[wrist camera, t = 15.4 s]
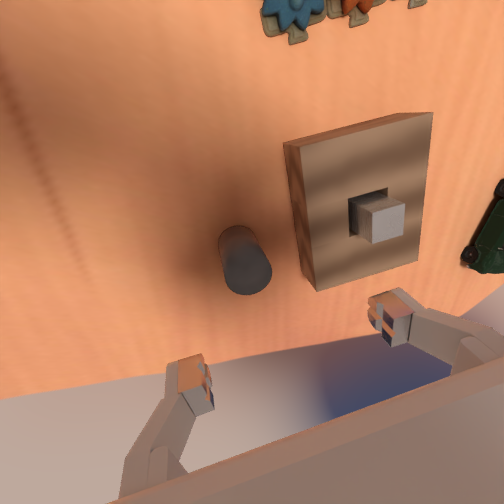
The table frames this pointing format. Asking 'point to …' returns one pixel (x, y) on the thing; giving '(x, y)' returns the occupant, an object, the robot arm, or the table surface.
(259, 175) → the table surface
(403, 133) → the bore block
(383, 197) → the square bit
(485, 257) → the miniature car
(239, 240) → the round bit
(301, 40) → the gear puzzle
